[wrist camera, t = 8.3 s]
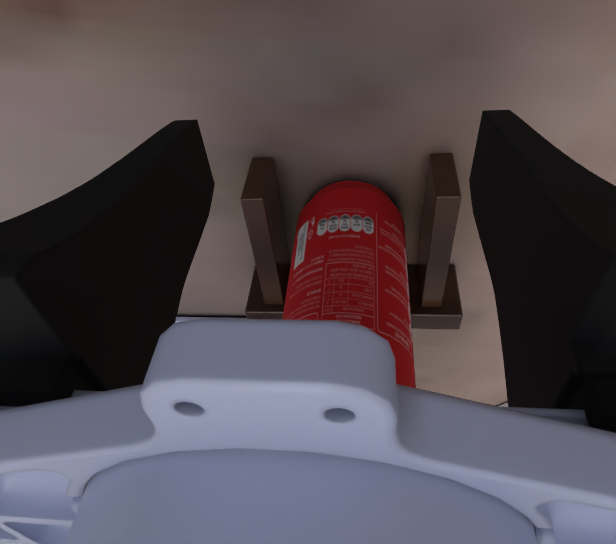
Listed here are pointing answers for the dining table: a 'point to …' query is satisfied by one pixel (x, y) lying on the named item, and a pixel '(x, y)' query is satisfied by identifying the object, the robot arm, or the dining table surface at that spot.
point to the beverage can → (354, 266)
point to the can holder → (421, 278)
